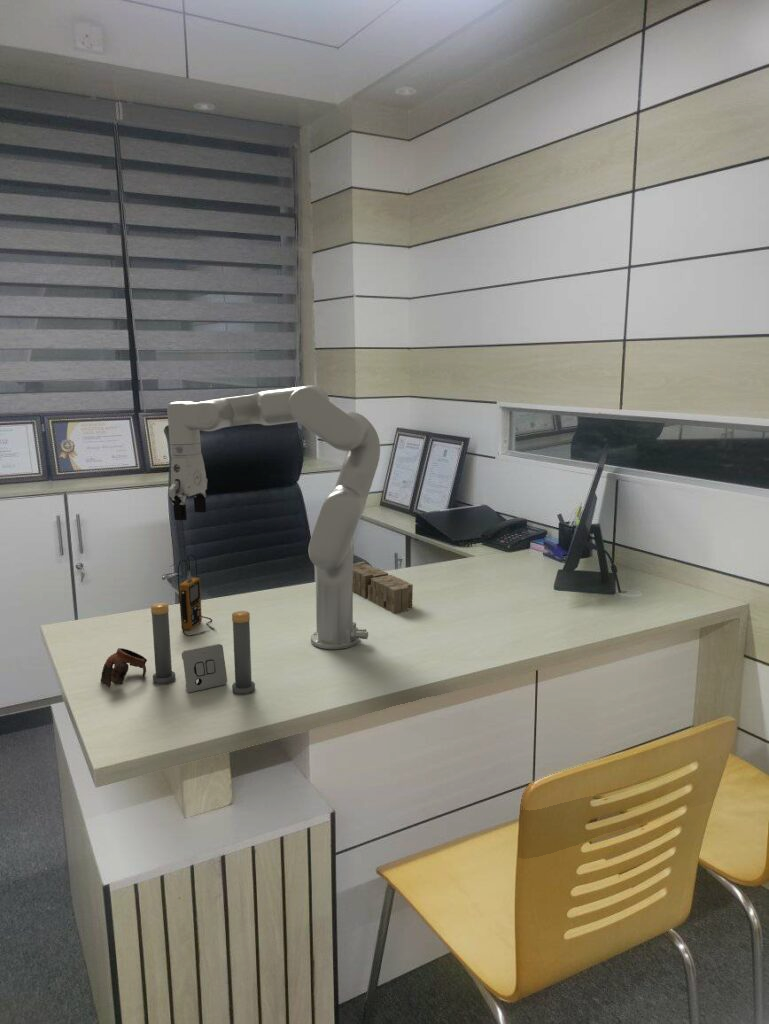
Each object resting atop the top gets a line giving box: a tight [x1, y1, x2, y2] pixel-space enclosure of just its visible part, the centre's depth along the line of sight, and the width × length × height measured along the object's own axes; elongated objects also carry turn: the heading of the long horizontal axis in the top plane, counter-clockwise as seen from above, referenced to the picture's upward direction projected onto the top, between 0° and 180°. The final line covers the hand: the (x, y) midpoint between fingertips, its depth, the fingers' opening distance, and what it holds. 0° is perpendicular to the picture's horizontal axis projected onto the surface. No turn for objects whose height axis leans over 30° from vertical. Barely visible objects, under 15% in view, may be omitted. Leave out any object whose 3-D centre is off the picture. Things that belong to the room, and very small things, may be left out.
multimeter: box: [177, 554, 218, 637], centre depth 202 cm, size 15×10×20 cm
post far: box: [150, 602, 176, 686], centre depth 169 cm, size 5×5×18 cm
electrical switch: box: [181, 643, 228, 693], centre depth 168 cm, size 9×5×9 cm, turn 121°
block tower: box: [353, 561, 414, 615], centre depth 229 cm, size 8×8×29 cm
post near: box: [231, 610, 256, 696], centre depth 164 cm, size 5×5×18 cm
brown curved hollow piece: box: [100, 647, 148, 688], centre depth 170 cm, size 12×10×8 cm
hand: (190, 515), depth 192 cm, fingers open, 9 cm apart
